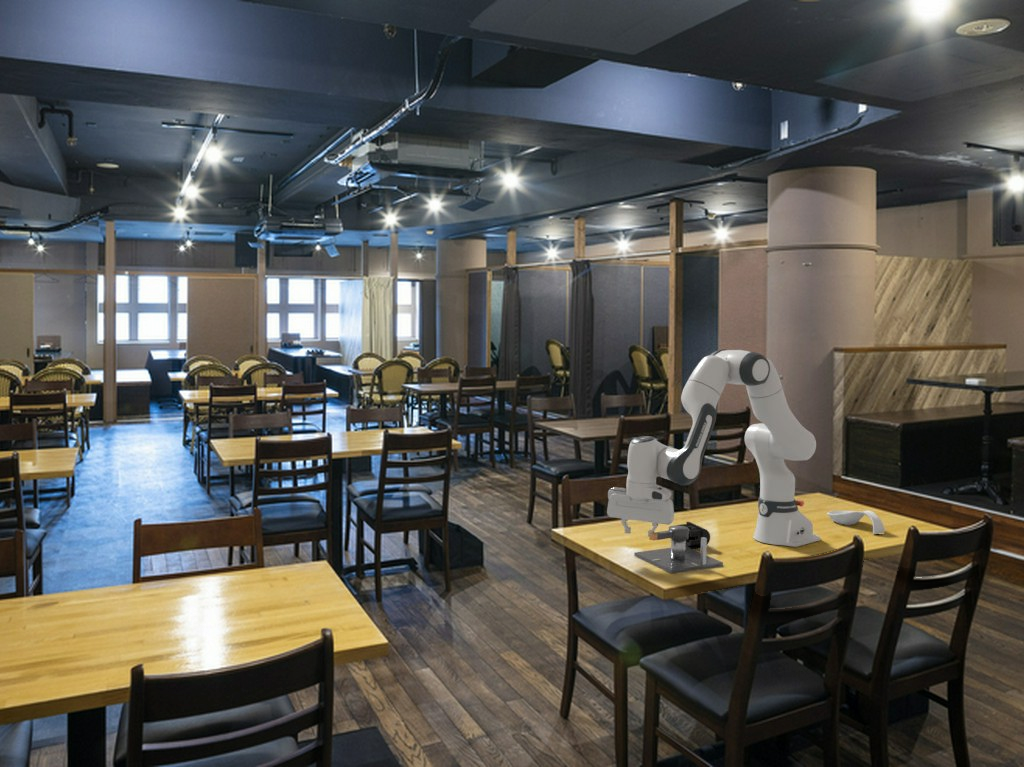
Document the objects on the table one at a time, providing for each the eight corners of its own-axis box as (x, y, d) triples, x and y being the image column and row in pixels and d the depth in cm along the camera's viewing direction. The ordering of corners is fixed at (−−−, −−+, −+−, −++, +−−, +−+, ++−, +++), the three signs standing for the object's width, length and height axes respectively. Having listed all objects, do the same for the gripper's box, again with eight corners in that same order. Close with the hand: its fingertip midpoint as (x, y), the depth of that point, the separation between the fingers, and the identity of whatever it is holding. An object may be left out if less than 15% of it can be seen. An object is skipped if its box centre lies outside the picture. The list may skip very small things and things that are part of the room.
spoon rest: (820, 520, 299) (821, 501, 298) (846, 518, 302) (846, 499, 302) (866, 537, 276) (867, 516, 276) (893, 534, 280) (895, 514, 279)
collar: (679, 534, 249) (679, 524, 249) (692, 538, 244) (692, 529, 244) (645, 539, 243) (645, 529, 242) (657, 544, 237) (658, 534, 237)
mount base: (683, 548, 258) (684, 521, 258) (722, 565, 241) (723, 536, 240) (634, 555, 250) (635, 527, 249) (671, 573, 233) (672, 543, 232)
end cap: (710, 548, 259) (710, 528, 259) (691, 550, 257) (691, 529, 257) (693, 540, 269) (694, 520, 268) (675, 542, 267) (675, 522, 266)
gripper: (604, 488, 244) (603, 532, 246) (671, 495, 236) (669, 541, 237) (611, 484, 250) (610, 527, 251) (676, 491, 241) (674, 537, 242)
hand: (639, 534), depth 244 cm, fingers open, 6 cm apart
